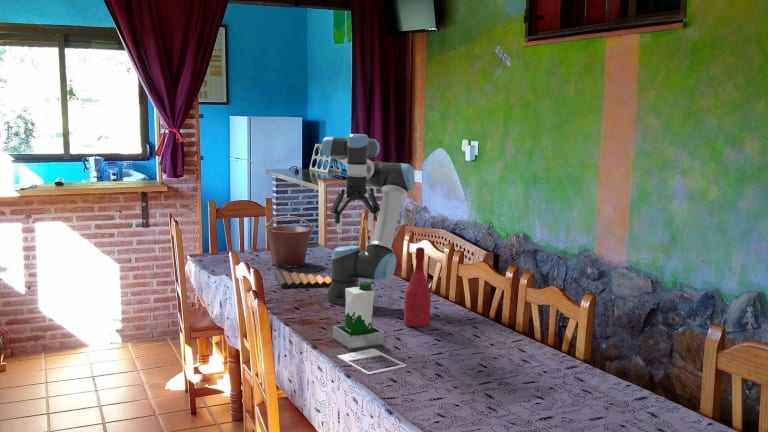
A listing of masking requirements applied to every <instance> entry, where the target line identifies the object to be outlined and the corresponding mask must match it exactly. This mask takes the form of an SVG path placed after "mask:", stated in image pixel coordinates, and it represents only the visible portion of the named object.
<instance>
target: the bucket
mask: <svg viewBox="0 0 768 432" xmlns="http://www.w3.org/2000/svg"><path fill="white" fill-rule="evenodd" d="M287 218H289V219H296V220H299V221H301V222H303V223H305V224H307V225H308V227H305V226H299V225H276V226H271V225H272V224H273V222H274V220H278V219H287ZM269 226H270V227H269ZM264 228H265V230H266V235H267V242H268V247H269V252H270V258H271V264H272V263H273V265H274V264H275V265H274V266H276V265H277V266H291V267H293V266H300V267H302V266H301V265H304V266H305V262H306V256H307V251H308V248H309V242H310V237H311V233H312V231H313V230H314V227H313V225H312V224H311V223H310V222H309V221H307V220H305V219H303V218H302V217H298V216H294V215H293V216H292V215H284V216H283V215H282V216H276V217H272V219H271V220H270V221H269V222H267V223H265V224H264ZM277 266H276V267H277ZM293 268H294V267H293Z"/></svg>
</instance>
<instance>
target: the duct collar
mask: <svg viewBox="0 0 768 432" xmlns="http://www.w3.org/2000/svg"><path fill="white" fill-rule="evenodd" d="M384 338H385V332H384V331H383V330H382V329H379V328H378V327H375V326H373V325H372V333H369V334H362V335H355V336H351V335H349V334H347V333H346V332H345V324H339V325H333V326H332V342H335V343H336V344H338V345H340V347H341V346H342V347H343V348H344V349H346V350H348V351H349V352H356V351H363V350H369V349H375V348H381V347H384V343H385V342H384V340H385V339H384Z"/></svg>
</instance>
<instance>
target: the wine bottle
mask: <svg viewBox="0 0 768 432" xmlns="http://www.w3.org/2000/svg"><path fill="white" fill-rule="evenodd" d="M414 258H415V267H414V272H413V274H412V277H411V279H410V280H409V283H408V284H407V287H406V291H405V295H404V309H403V310H404V311H403V312H404V313H403V314H404V315H403V320H404V324H405V325H406V326H407V327H411V328H417V329H418V328H419V329H420V327H422V328H426V327H427V326H429V323H430V317H431V304H432V303H431V301H432V297H431V289H430V285H429V284H428V280H427V278H426V276H425V271H424V260H425V248H424V247H422V246H421V247H418V246H417V247H416V249H415V257H414Z"/></svg>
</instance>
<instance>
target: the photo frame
mask: <svg viewBox="0 0 768 432" xmlns="http://www.w3.org/2000/svg"><path fill="white" fill-rule="evenodd" d="M377 356H382V357H384V358H386V359H388V360H389V361H392V362H394V363H396V364H398V365H396V366H391V367H387V368H383V369H378V370H377V369H376V370H374V371H367V370H365V369H363V368H362V367H360V366H358V365H356V364H355V363H353V362H354V361H353V360H355V361H358V360H359V359H360V360H364V359H368V358H369V359H370V358H373V357H377ZM337 357H338V358H337ZM336 358H337V359H339V360H341V361H342V360H343V362H344V361H345V363H346V362H347V363H346V364H348V363H349V364H348V365H350V364H351V365H352V367H353V366H354V367H353V368H355V367H356V368H355V369H357V368H358V369H357V370H359V369H360V370H361V371H360V370H359V371H360V372H362V371H363V372H362V373H364V372H365V373H364V374H366V373H367V374H366V375H368V374H370V375H374V373H375V374H378V373H379V374H380V373H382V372H383V373H384V372H388V371H392V370H397V369H400V368H401V367H402V368H406V367H407V364H406V363H403V362H402V361H399V360H397V359H395V358H393V357H391V356H389V355H387V354H385V353H383V352H381V351H379V350H377V349H375V348H368V349H363V350H358V351H353V352H349V353H344V354H340V355H339V354H338V355H337V356H336ZM360 360H359V361H360ZM349 361H350V362H349ZM402 364H403V365H402ZM351 365H350V366H351ZM405 366H406V367H405Z"/></svg>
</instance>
